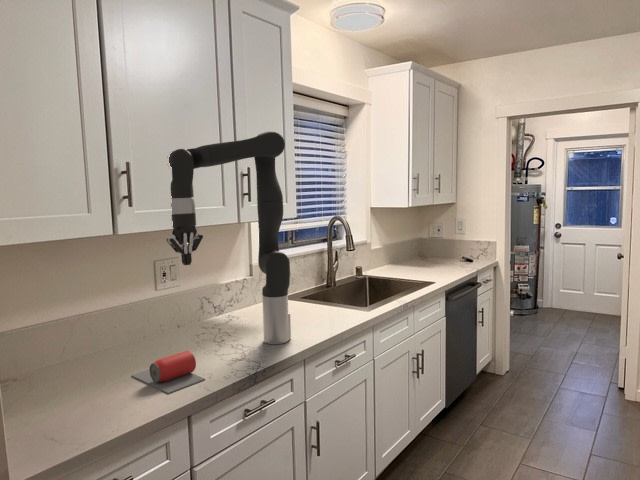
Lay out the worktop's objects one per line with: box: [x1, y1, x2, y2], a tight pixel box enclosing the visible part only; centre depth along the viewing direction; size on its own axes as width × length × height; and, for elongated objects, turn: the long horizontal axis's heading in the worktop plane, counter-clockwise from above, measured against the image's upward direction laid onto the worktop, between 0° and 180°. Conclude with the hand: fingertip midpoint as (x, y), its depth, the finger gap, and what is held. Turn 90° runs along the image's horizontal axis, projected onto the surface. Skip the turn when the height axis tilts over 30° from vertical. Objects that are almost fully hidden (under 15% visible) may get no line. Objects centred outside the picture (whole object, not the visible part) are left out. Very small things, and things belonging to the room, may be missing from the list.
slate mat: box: [131, 368, 206, 395], centre depth 136 cm, size 12×20×1 cm, turn 50°
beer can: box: [149, 350, 197, 383], centre depth 135 cm, size 7×7×12 cm
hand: (186, 264), depth 151 cm, fingers closed
